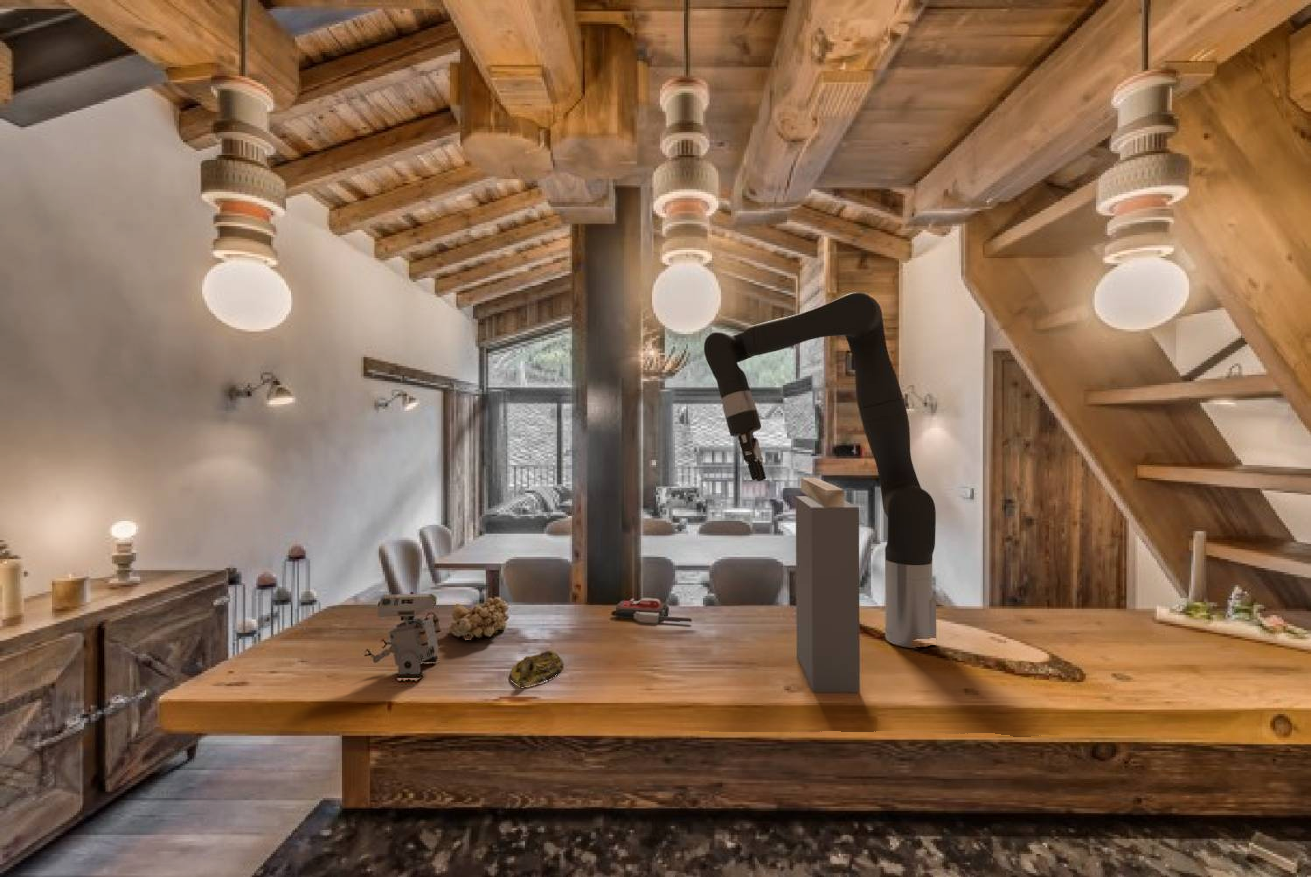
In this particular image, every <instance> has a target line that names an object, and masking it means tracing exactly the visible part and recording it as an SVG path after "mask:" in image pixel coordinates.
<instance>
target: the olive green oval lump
mask: <svg viewBox="0 0 1311 877" xmlns="http://www.w3.org/2000/svg"><path fill="white" fill-rule="evenodd" d="M563 666H565V664H564V661H563V659H562V658H561V657H560V655H558V654H557V653H556V652H554V651H551V650H546V651H543V652H540V654H539V653H538V654H535V655H531V656H529V655H528V656H525V657H524V658H523V659H521V660H520V661H518V662H517V663H516V664H515V665H514V666H513V667H512V668H511V671H510V673H509V679H510V678H511V680H512V681H513V682H514V683H516V684H517V685H518V686H520V687H525V686H529V685H530V686H531V685H534V684H538V683H541V682H544V681H546V680H549V679H551V678H553V677H555V675H556V674H558V673H559V672H561V671H562V672H563V670H562V669H564V667H563ZM562 672H561V673H562ZM559 674H560V673H559ZM559 674H558V675H559ZM555 678H556V677H555ZM511 680H510V681H511Z"/></svg>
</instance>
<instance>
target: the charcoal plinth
mask: <svg viewBox="0 0 1311 877" xmlns="http://www.w3.org/2000/svg"><path fill="white" fill-rule="evenodd" d="M795 575H796V576H795V577H796V578H795V583H796V584H795V587H796V588H795V590H796V591H795V594H796V595H795V598H796V601H795V602H796V603H795V604H796V605H795V606H796V607H795V608H796V609H795V610H796V611H795V612H796V614H795V615H796V657H797V660H798V662H799V664H800V667H801V669H802V671H803V673H804V676H805V677H806V680H807V683H808V682H809V683H808V685H809V687H810V688H811V692H813V693H847V692H860V691H861V689H860V688H861V685H860V684H861V680H860V677H861V676H860V674H861V671H860V670H861V668H860V665H861V664H860V661H861V658H860V654H861V653H860V645H861V644H860V642H861V641H860V640H861V638H860V635H861V634H860V507H859V506H856V505H855V504H854V503H852V502H849V501H847V500H845V499H844V507H828V508H826V507H825V506H823V505H822V504H820V503H818V502H817V501H815V500H814V499H812V498H810V497H809V496H807V495H806V496H805V495H804V496H803V495H801V496H799V495H798V496H795Z"/></svg>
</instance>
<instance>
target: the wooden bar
mask: <svg viewBox="0 0 1311 877" xmlns="http://www.w3.org/2000/svg"><path fill="white" fill-rule="evenodd" d="M800 483H801V484H800V485H801V486H800V490H801V493H802V494H804V495H806V496H809V497H810V498H812V499H814V500H815V501H817V502H818V503H820V504H822V505H823V506H825V507H826V508H828V507H844V500H845V489H842V488H840V487H838V486H836V485H833V484H831V483H829V482H826V481H824V480H822V479H819V478H818V477H800Z"/></svg>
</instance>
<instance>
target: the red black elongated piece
mask: <svg viewBox="0 0 1311 877" xmlns="http://www.w3.org/2000/svg"><path fill="white" fill-rule="evenodd" d="M669 608H670V607H669V606H668V605H667V603H666V602H661V600H660V599H659V598H656V597H655V598H654V597H653V598H651V597H643V598H640V599H639V600H635V598H631V599H630V600H621V601H620V602H619V603H618V604H617V605H616V607H615V609H616V610H612V611H611V616H615V617H616V618H617V619H624V620H625V619H626V620H629V619H630V620H635V621H637V622H640V623H646V624H654V625H655V624H659V622H673V623H674V622H675V623H679V622H686V623H687V622H689V623H690V622H693V619H692V618H691V617H678V616H668V615H669V614H670V612H669V610H670V609H669ZM666 615H667V616H666Z"/></svg>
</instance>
